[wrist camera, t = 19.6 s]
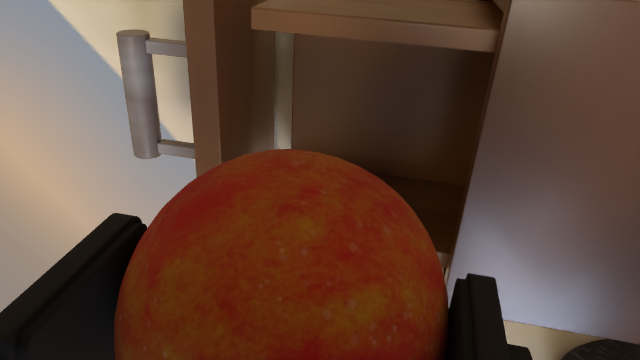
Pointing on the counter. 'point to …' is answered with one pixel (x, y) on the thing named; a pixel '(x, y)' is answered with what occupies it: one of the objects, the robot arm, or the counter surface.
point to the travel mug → (605, 351)
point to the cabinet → (559, 170)
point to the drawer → (332, 89)
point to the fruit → (284, 269)
